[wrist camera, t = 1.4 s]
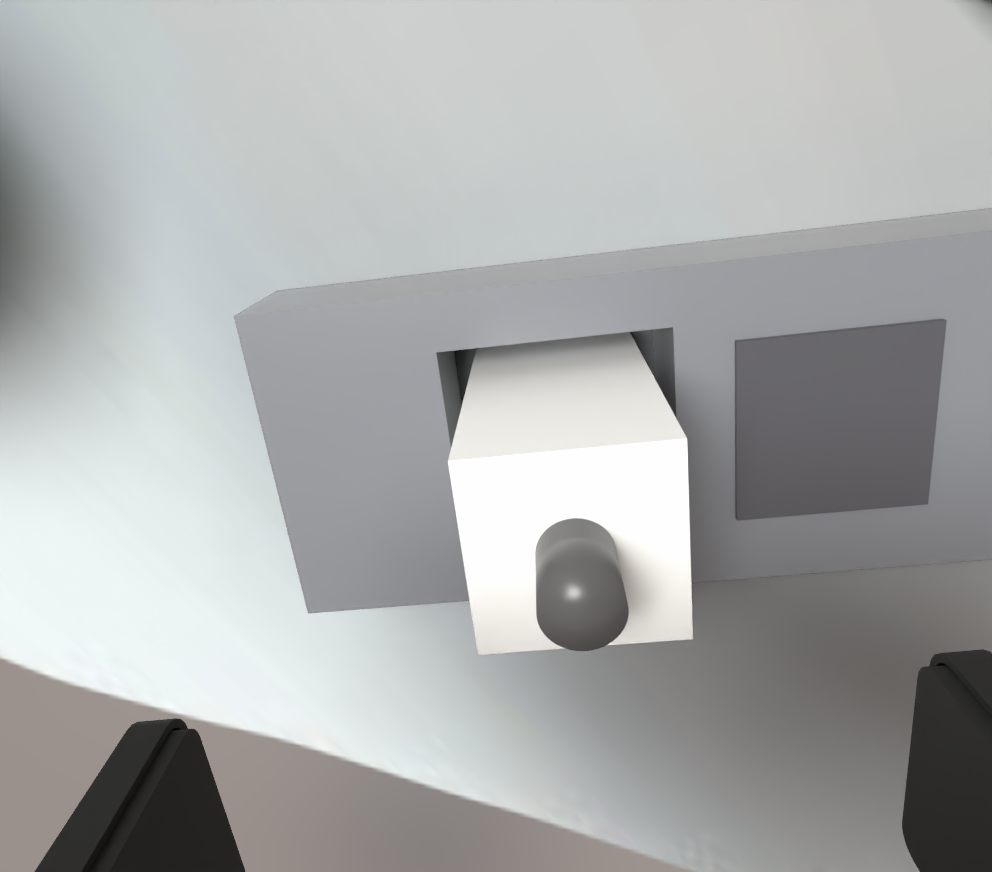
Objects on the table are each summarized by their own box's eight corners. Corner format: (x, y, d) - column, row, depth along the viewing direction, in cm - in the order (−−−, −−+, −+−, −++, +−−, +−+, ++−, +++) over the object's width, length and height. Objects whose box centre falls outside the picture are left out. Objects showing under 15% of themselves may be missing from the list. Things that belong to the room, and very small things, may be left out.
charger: (627, 327, 22) (712, 484, 12) (634, 464, 24) (715, 707, 14) (477, 343, 22) (435, 509, 12) (495, 477, 24) (471, 723, 14)
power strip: (1290, 173, 20) (1471, 181, 16) (1213, 478, 23) (1348, 544, 19) (276, 291, 22) (224, 321, 18) (336, 553, 25) (302, 625, 22)
